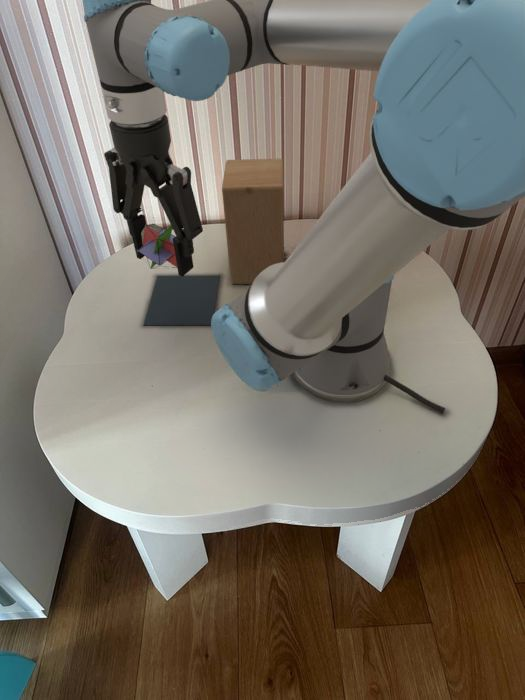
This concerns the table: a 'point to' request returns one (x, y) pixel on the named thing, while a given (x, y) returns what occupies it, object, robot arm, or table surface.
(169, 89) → the robot arm
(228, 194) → the wooden block
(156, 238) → the geometric puzzle
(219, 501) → the table surface
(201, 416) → the table surface
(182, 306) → the mat
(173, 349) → the table surface
